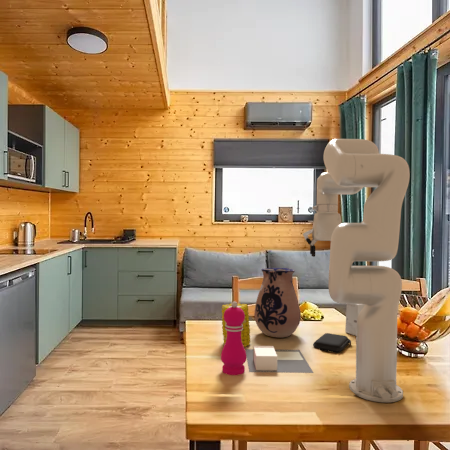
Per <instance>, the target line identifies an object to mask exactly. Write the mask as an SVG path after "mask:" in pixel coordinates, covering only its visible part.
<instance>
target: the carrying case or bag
mask: <svg viewBox="0 0 450 450" xmlns="http://www.w3.org/2000/svg"><path fill="white" fill-rule="evenodd" d="M348 345H349V346H350V345H352V340H351V339H350V338H348V336H346V335H341V334H335V333H328V332H326V333H324V334H322V335H321V336H320V337H318V338H317V339H316V340H315V341H314V342H313V344H312V346H313V348H315V349H319V350H320V351H324V352H330V353H336V354H339V353H340V352H343V350H344V349H345V348H346V347H347V346H348Z"/></svg>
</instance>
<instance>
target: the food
mask: <svg viewBox="0 0 450 450" xmlns="http://www.w3.org/2000/svg"><path fill="white" fill-rule="evenodd" d="M237 304H238V305H237V307H239V308H241V309H242V310H243V311H244V314H245V319H244V321H243V323H242V325H243V330H242V331H241V340H242V344H243V346H244V348H247V346H250V343H251V335H250V333H251V329H250V327H251V326H250V315H249V314H250V313H249V306H248V304H246V303H242V304H241V303H237ZM230 307H232V306H231V303H226V304H222V305H221V315H222V316H221V319H222V320H221V325H222V327H221V328H222V336H223V338H222V340H223V344H224V345H225V343H226V339H227V330H226V329H225V328H226V326H225V325H226V324H227V323H226V322H225V320H224V312H225V310H226V309H228V308H230Z"/></svg>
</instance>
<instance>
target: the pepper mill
mask: <svg viewBox="0 0 450 450" xmlns="http://www.w3.org/2000/svg"><path fill="white" fill-rule="evenodd" d="M230 304H231V306H232V307H230V308H228V309H226V310H225V312H224V320H225V322H226V323H227V324H226V325H225V326H226V328H225V329H226V330H227V339H226V343H225V344H224V345H223V347H222V350H221V354H220V360H221V362H222V363H223V365H222V370H221V371H222V373H223V374H225V375H229V376H239V375H242V374H244V373H245V370H246V368H245V367H246V366H245V365H244V364H245V363H246V362H247V356H246V351H245V347H244V346H243V344H242V340H241V331H242V330H243V325H242V323H243V321H244V319H245V314H244V311H243V310H242V309H241V308H239V307H237V305H238V304H239V303H238V302H237V301H232V302H231V303H230Z"/></svg>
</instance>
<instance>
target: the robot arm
mask: <svg viewBox="0 0 450 450" xmlns="http://www.w3.org/2000/svg"><path fill="white" fill-rule="evenodd" d="M323 163H324V166H325V168H326V170H327V172H322V173H321V174H320V175H319V176H318V178H317V179H316V205H315V206H312V211H315V213H314V214H313V215H314V216H313V221H312V222H313V223H312V229H309V230H306V231H305V232H303V233H302V236H303V238H304V240H305V242H306V243H307V244H308V245H309V253H310V255H311V257H313V258H315V257H316V245H315V244H316V243H317V242H318V241H319V242H320V241H321V242H323V241H324V242H327V241H329V242H330V248H329V263H328V264H329V269H328V294H329V297H330V298H331V300H332V301H333V302H335V303H336V304H340V305H341V304H342V305H347V304H365V306H364V307H363V309H362V310H361V312H360V313H359V315H358V318H357V323H356V337H355V338H356V339H355V378H354V379H351V380H350V381H349V384H348V387H349V389H350V391H351V392H353V394H354V395H355V396H356V397H360V399H361V398H362V399H364V400H367V401H371V402H375V403H376V402H377V403H394V402H398V401H400V400H402V399H403V397H404V391H403V389H402V388H401V387H400V386H399V385H397V367H398V366H397V364H398V363H397V362H398V361H397V359H398V358H397V357H398V356H397V355H398V354H397V353H398V346H397V345H398V341H397V340H398V315H399V304H400V300H401V295H402V290H403V282H402V277H401V275H400V274H399V272H398V271H396V270H395V269H394V268H392V267H389V266H386V265H385V266H384V265H353V263H354V262H388V261H392V260H393V259H395V257H396V256H397V254H398V249H399V241H400V229H401V215H402V206H403V203H404V198H405V196H406V193H407V189H408V188H409V183H410V177H411V176H410V173H411V171H410V166H409V164H408V161H406V160H405V158H404V157H401V156H399V155H396V154H389V153H388V154H387V153H380V152H379V148H378V146H377V144H376V143H375V142H373V141H371V140H369V139H363V138H362V139H361V138H334V139H332V140H330V141H329V142H328V143H327V145H326V147H325V148H324V151H323ZM364 188H375V189H374V190H373V191H372V192H371V194H369V196H368V197H367V198H366V200H365V201H364V204H363V216H362V221H361V222H343V223H342V217H341V213H339V212H338V211H339V210H338V209H339V195H346V196H347V195H350V196H351V195H355V194H357V193H359V192H360V191H362V190H363V189H364ZM310 235H311V236H312V237H311V238H312V239H311V238H310V237H309V236H310Z"/></svg>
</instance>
